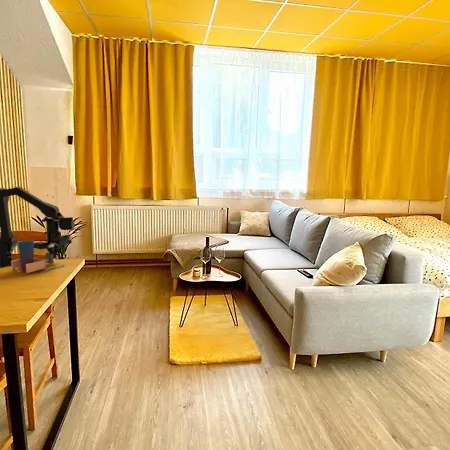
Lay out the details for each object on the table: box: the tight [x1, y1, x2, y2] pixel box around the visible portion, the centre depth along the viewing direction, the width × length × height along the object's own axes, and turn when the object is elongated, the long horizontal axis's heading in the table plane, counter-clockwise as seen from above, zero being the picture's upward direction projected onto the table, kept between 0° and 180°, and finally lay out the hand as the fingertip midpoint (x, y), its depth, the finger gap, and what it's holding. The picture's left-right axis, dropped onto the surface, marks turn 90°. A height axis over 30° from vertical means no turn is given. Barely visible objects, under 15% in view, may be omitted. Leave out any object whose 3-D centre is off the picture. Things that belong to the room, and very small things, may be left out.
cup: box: [17, 239, 35, 274], centre depth 162 cm, size 7×7×15 cm
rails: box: [19, 264, 66, 274], centre depth 170 cm, size 16×14×1 cm
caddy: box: [10, 252, 55, 275], centre depth 167 cm, size 17×12×6 cm
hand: (54, 258), depth 176 cm, fingers closed
